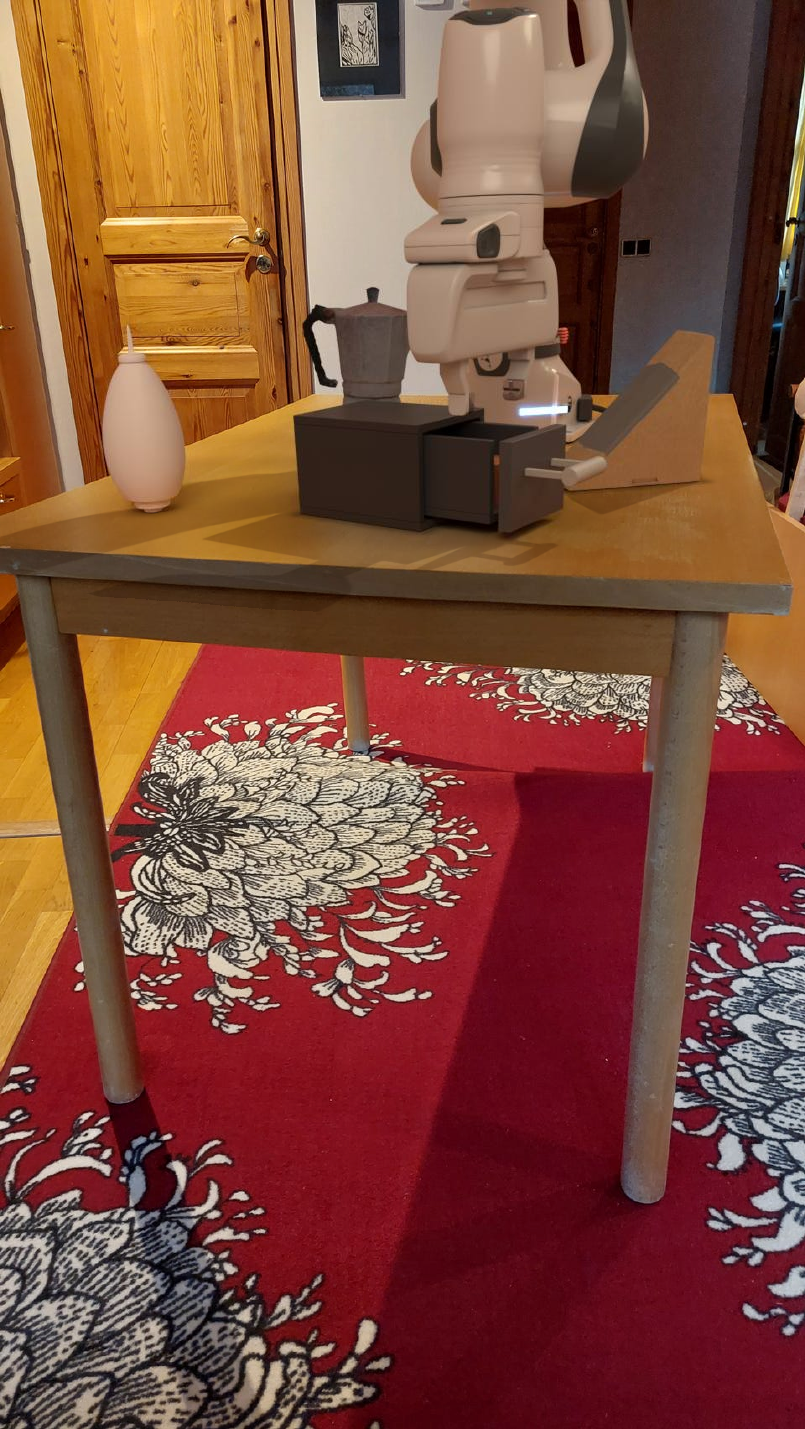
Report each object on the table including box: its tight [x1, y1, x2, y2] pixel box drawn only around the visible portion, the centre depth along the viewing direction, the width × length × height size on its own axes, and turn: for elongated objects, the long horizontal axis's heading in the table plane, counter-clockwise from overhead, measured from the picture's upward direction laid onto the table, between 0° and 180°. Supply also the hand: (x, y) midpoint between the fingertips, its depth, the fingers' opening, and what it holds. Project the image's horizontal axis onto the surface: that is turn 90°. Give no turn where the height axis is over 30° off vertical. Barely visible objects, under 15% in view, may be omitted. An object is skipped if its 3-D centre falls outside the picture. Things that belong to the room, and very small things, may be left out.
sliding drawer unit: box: [422, 421, 607, 534], centre depth 91 cm, size 19×10×8 cm, turn 55°
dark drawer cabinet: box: [292, 400, 484, 532], centre depth 97 cm, size 15×12×10 cm
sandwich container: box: [564, 329, 716, 492], centre depth 106 cm, size 9×15×15 cm, turn 102°
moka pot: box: [301, 286, 411, 405], centre depth 119 cm, size 10×15×20 cm, turn 78°
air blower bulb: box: [101, 324, 187, 513], centre depth 98 cm, size 8×8×18 cm
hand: (489, 406), depth 89 cm, fingers open, 8 cm apart
